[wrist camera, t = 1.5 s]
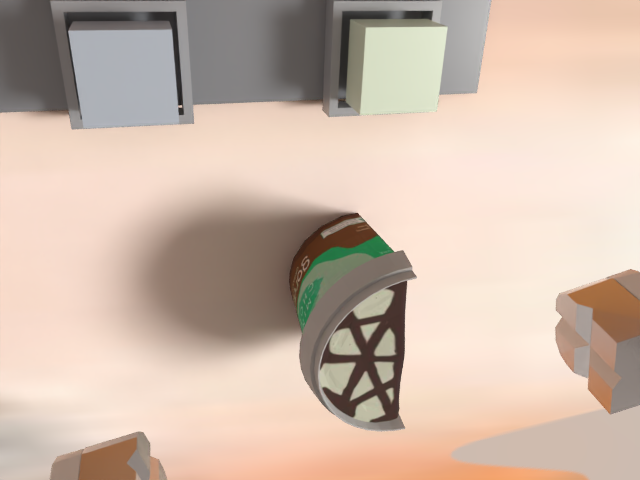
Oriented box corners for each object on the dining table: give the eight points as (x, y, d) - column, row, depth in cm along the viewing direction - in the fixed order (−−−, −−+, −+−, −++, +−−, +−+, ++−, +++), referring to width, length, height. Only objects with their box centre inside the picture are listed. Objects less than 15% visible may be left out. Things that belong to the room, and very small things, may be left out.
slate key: (176, 109, 32) (179, 124, 30) (87, 112, 31) (83, 128, 29) (169, 20, 30) (172, 29, 28) (73, 21, 29) (68, 30, 27)
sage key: (418, 98, 36) (436, 111, 34) (345, 102, 35) (360, 115, 32) (427, 18, 34) (447, 26, 31) (350, 19, 32) (365, 27, 30)
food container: (267, 204, 39) (305, 286, 31) (358, 193, 40) (417, 268, 32) (276, 353, 45) (310, 456, 37) (355, 338, 46) (404, 435, 38)
